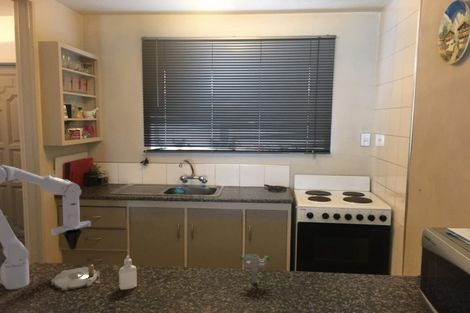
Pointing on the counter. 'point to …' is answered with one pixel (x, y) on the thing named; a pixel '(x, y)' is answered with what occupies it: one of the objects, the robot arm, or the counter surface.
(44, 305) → the counter surface
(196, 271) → the counter surface
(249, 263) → the mechanical component
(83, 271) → the tabbed shallow bowl
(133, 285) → the eye dropper bottle
